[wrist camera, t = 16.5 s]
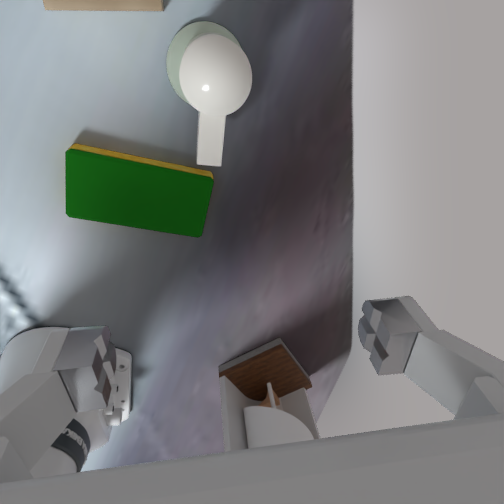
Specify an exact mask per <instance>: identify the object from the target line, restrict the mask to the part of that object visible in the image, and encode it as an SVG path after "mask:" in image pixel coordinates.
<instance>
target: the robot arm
mask: <svg viewBox="0 0 504 504" xmlns="http://www.w3.org/2000/svg"><path fill="white" fill-rule="evenodd" d="M362 311H363V313H364V316H363V317H362V318H361V319H360V320H359V325H358V330H359V331H358V332H359V337H360V341H361V343H362V345H363V347H364V348H365V349H366V350H368V351H369V352H371V355H370V361H371V362H372V364H373V366H374V368H375V370H376V372H377V374H378V375H388V374H398V373H404V375H405V376H406V377H408V378H409V379H410V380H411V381H413V382H414V383H415V384H416V385H418V386H419V387H420V388H421V389H423V390H424V391H425V392H426V393H428V394H429V395H430V396H432V397H433V398H434V399H435V400H436V401H438V402H439V403H440V404H441V405H443V406H444V407H445V408H447V409H448V410H449V411H450V412H451V413H453V414H454V415H455V417H454V419H453V420H450V421H443V422H435V423H428V424H421V425H414V426H406V427H399V428H392V429H385V430H379V431H371V432H364V433H357V434H350V435H342V436H335V437H328V438H322V439H314V440H307V441H300V442H293V443H286V444H278V445H271V446H264V447H257V448H249V449H242V450H235V451H228V452H220V453H213V454H206V455H199V456H192V457H184V458H177V459H170V460H163V461H156V462H149V463H141V464H134V465H127V466H120V467H113V468H106V469H98V470H91V471H84V472H80V471H81V469H82V467H83V466H84V464H85V462H86V460H87V455H88V454H89V453H91V452H93V451H95V450H97V449H99V448H101V447H103V446H104V445H105V444H106V443H107V442H108V441H109V438H110V434H111V429H112V425H113V426H116V425H121V422H122V421H124V420H126V419H128V417H129V414H130V404H131V367H132V356H131V354H130V353H128V352H126V351H123V350H120V349H117V348H115V347H114V344H112V343H111V342H109V339H110V336H111V333H110V330H109V328H108V326H106V325H102V326H88V327H74V328H63V327H43V328H37V329H32V330H29V331H26V332H23V333H21V334H19V335H17V336H16V337H14V338H13V339H12V340H11V341H10V342H9V343H8V344H7V345H6V347H5V349H4V351H3V353H2V355H1V357H0V504H504V361H502V360H500V359H498V358H496V357H495V356H493V355H491V354H489V353H487V352H485V351H483V350H481V349H479V348H477V347H475V346H474V345H472V344H470V343H468V342H466V341H464V340H462V339H460V338H458V337H456V336H454V335H452V334H451V333H449V332H447V331H445V330H438V328H437V327H436V326H435V325H434V323H433V322H432V321H431V320H430V318H429V317H428V316H427V315H426V313H425V312H424V311H423V310H422V309H421V307H420V306H419V305H418V304H417V302H416V301H415V300H414V299H413V298H412V297H410V296H405V297H395V298H387V299H377V300H368V301H365V302H364V304H363V307H362Z"/></svg>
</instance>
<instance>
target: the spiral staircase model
mask: <svg viewBox="0 0 504 504" xmlns="http://www.w3.org/2000/svg"><path fill="white" fill-rule="evenodd" d="M219 381H220V395H221V409H222V423H223V438H224V452H228V451H235V450H242V449H249V448H257V447H264V446H271V445H278V444H286V443H293V442H300V441H307V440H314V439H321V438H320V435H319V432H318V428H317V425H316V422H315V418H314V415H313V412H312V408H311V405H310V402H309V398H308V395H307V392H306V390H307V389H309V388H311V387H312V384H311V381H310V378H309V376H308V374H307V373H306V372H305V370H304V369H303V368H302V366H301V365H300V364H299V362H298V361H297V360H296V358H295V357H294V356H293V354H292V353H291V352H290V351H289V349H288V348H287V347H286V345H285V344H284V343H283V341H282V340H281V339H280V338H277V339H275V340H273V341H271V342H269V343H267V344H265V345H263V346H261V347H259V348H256V349H254V350H252V351H250V352H248V353H246V354H244V355H242V356H240V357H238V358H235V359H233V360H231V361H229V362H227V363H225V364H223V365H221V366H219Z"/></svg>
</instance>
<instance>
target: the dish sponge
mask: <svg viewBox="0 0 504 504" xmlns="http://www.w3.org/2000/svg"><path fill="white" fill-rule="evenodd" d="M213 180H214V179H213V174H212V173H211V171H206V170H201V169H196V168H191V167H187V166H182V165H177V164H172V163H167V162H163V161H158V160H153V159H148V158H143V157H139V156H134V155H129V154H124V153H119V152H115V151H110V150H105V149H100V148H95V147H91V146H86V145H81V144H76V143H75V144H73V145H72V146H71V147H70V148H69V149H68V150H67V151H66V214H67V215H68V216H69V217H72V218H78V219H85V220H91V221H97V222H103V223H110V224H116V225H122V226H129V227H135V228H141V229H147V230H154V231H160V232H166V233H173V234H179V235H185V236H191V237H200V236H202V232H203V228H204V223H205V219H206V214H207V210H208V206H209V201H210V197H211V192H212V188H213V183H214V181H213Z"/></svg>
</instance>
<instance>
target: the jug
mask: <svg viewBox="0 0 504 504" xmlns="http://www.w3.org/2000/svg"><path fill="white" fill-rule="evenodd" d="M179 79H180V85H181V89H182V91H183V94H184V96H185V97H186V99H187V100H188V102H189V103H190V104H191V105H192V106H193V107H194V108H195V109H196V110H198V111H199V114H198V132H197V164H198V165H209V166H220V167H221V161H222V151H223V140H224V130H225V119H226V115H228V114H231V113H233V112H235V111H236V110H237V109H239V108H240V107H241V106H242V105H243V104H244V102H245V101H246V99H247V98H248V95H249V93H250V90H251V86H252V70H251V66H250V63H249V60H248V58H247V56H246V54H245V53H244V52H243V50H242V49H241V48H240V47H239V46H238V45H237V44H235V43H234V42H233V41H231V40H230V39H228V38H227V37H225V36H223V35H221V34H219V33H215V32H205V33H201V34H199V35H197V36H195V37H194V38H193V39H192V40H191V41H190V42H189V43H188V45H187V46H186V48H185V50H184V53H183V57H182V61H181V65H180V71H179Z"/></svg>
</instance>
